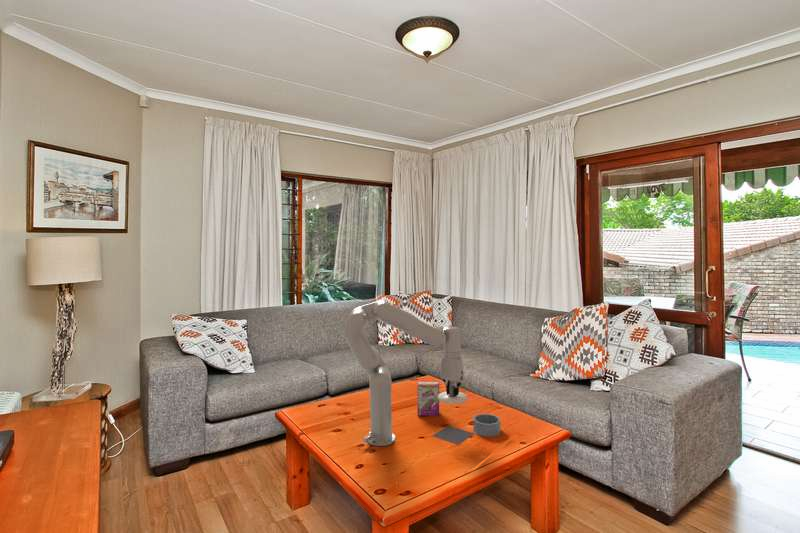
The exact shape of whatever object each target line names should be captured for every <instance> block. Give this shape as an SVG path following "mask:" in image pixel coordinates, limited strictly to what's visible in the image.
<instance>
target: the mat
mask: <svg viewBox="0 0 800 533" xmlns="http://www.w3.org/2000/svg"><path fill="white" fill-rule="evenodd" d="M475 434H476V433H475V432H471V431H468V430H466V429H462V428H459V427H456V426H451V425H447V426H445V427H444V428H442V429H440V430H439V431H436V433H434V434H432V435H431V437H433V438H436V439H440V440H443V441H446V442H449V443H452V444H455V445H457V446H459V445H460V444H461V443H463V442H464V441H466V440H467V439H469V438H470V437H472V436H473V435H475Z"/></svg>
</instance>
